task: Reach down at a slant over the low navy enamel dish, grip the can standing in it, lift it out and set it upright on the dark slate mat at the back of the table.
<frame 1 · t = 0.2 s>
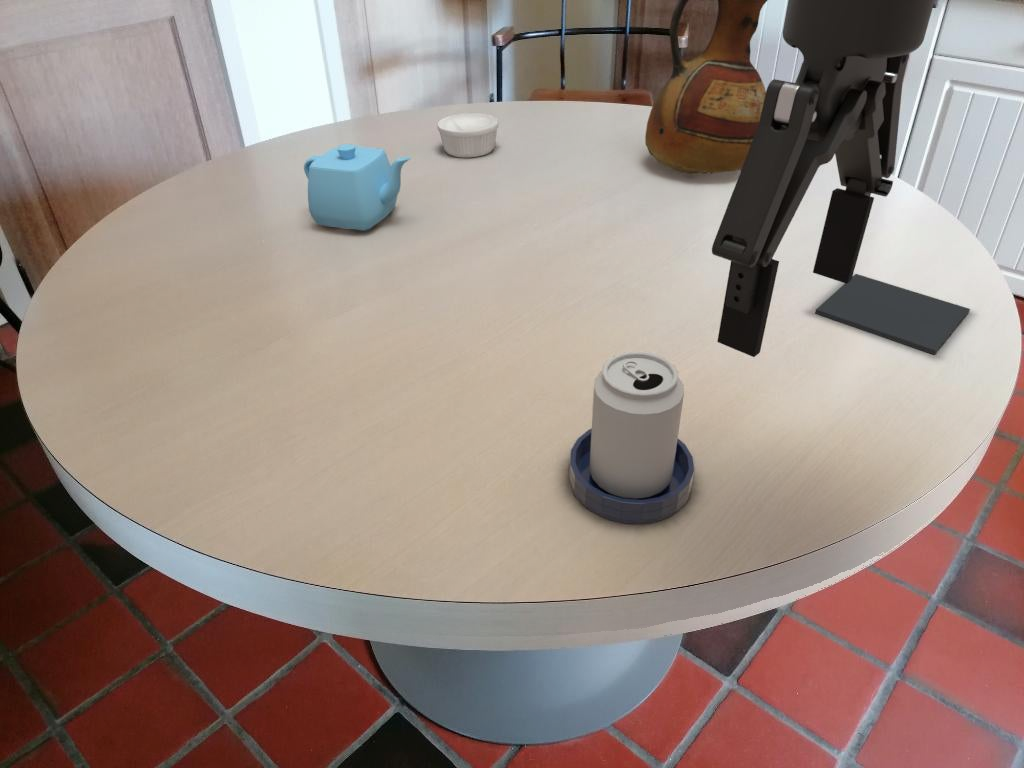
hand: (788, 309, 53), 21 cm above the table, tool pointing down, fingers open, 13 cm apart
ceramic pitcher: (700, 166, 133), on the table
dish: (629, 479, 69), on the table
ramekin: (469, 151, 142), on the table
teapot: (365, 220, 118), on the table
can: (629, 478, 69), resting on dish
mat: (891, 313, 92), on the table
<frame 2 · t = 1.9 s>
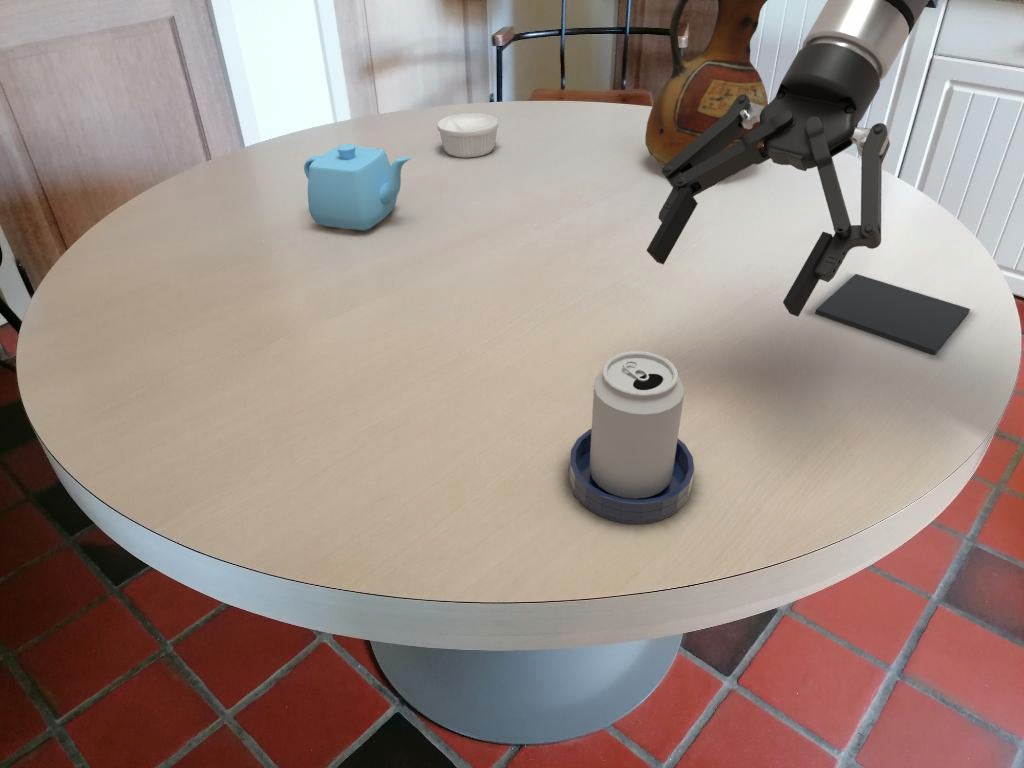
hand: (718, 282, 65), 16 cm above the table, tool tilted 45°, fingers open, 13 cm apart
nothing on the table moved.
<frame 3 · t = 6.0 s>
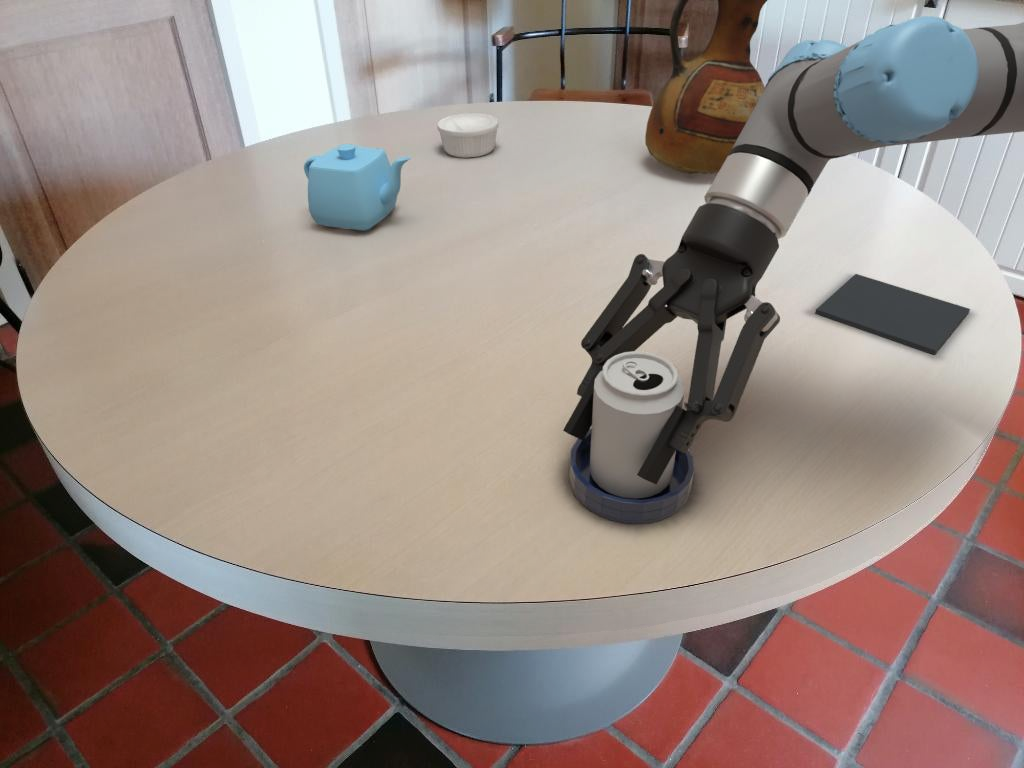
hand: (608, 456, 64), 5 cm above the table, tool tilted 45°, fingers closed on can, 7 cm apart
can: (629, 478, 69), resting on dish, touching gripper
everything else where it was.
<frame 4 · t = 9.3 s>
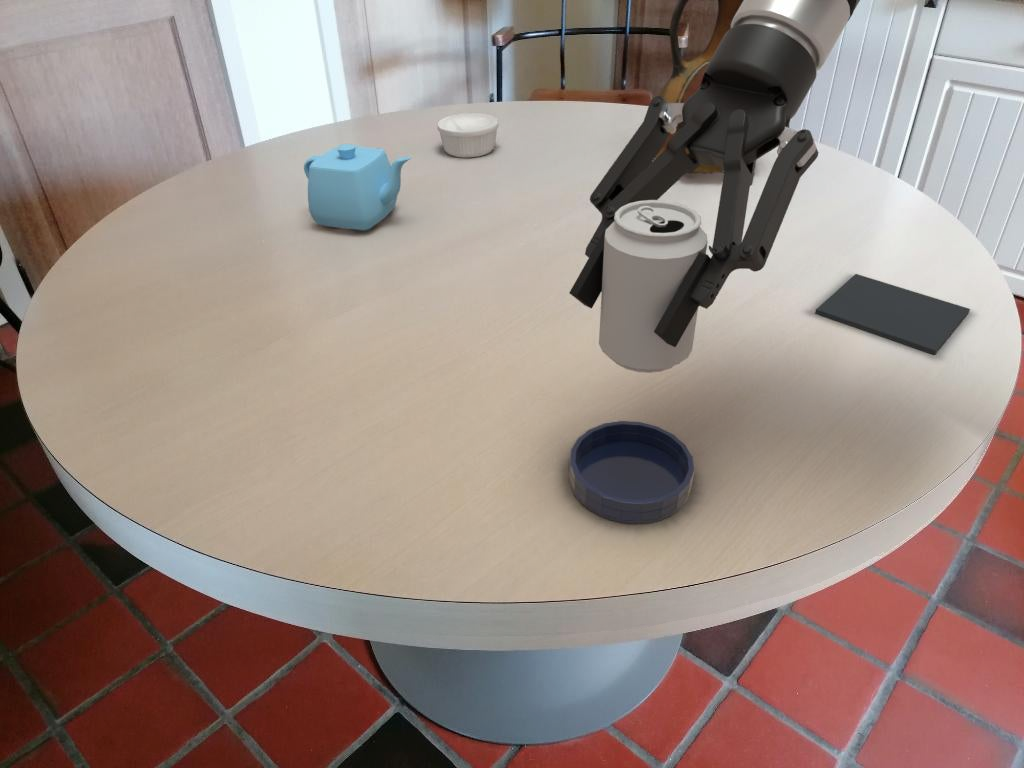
hand: (621, 319, 57), 19 cm above the table, tool tilted 45°, fingers closed on can, 7 cm apart
can: (644, 354, 61), point 14 cm above the table, touching gripper
everything else where it was.
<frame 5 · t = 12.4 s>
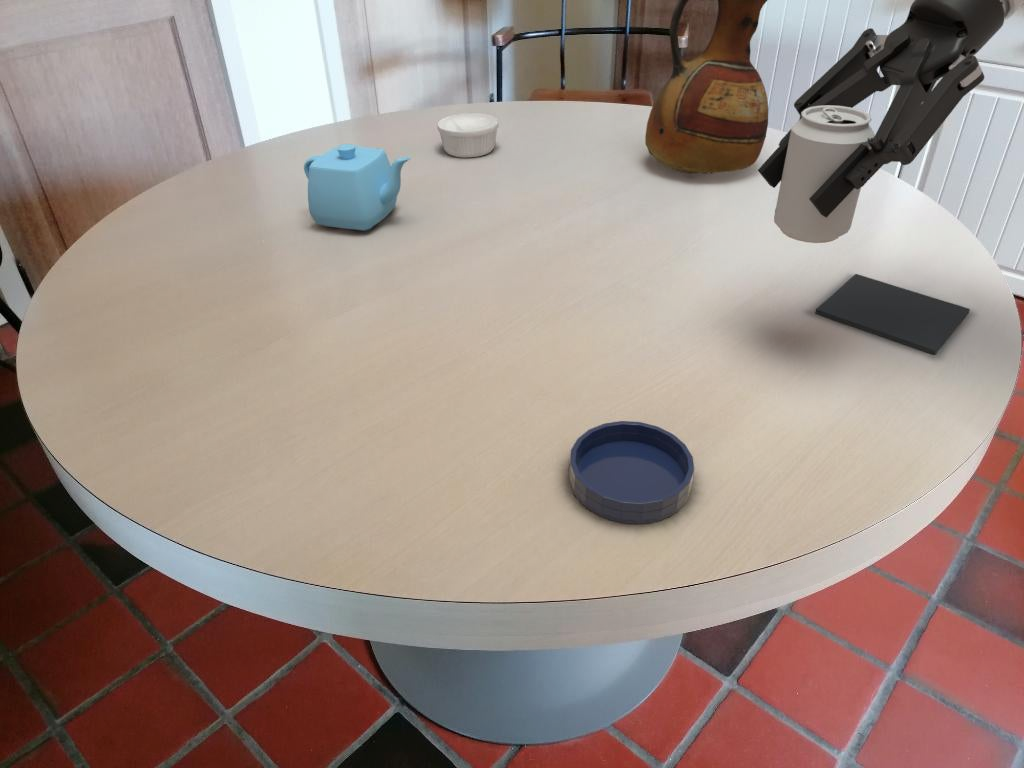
hand: (791, 192, 74), 19 cm above the table, tool tilted 45°, fingers closed on can, 7 cm apart
can: (809, 232, 78), point 14 cm above the table, touching gripper
everything else where it was.
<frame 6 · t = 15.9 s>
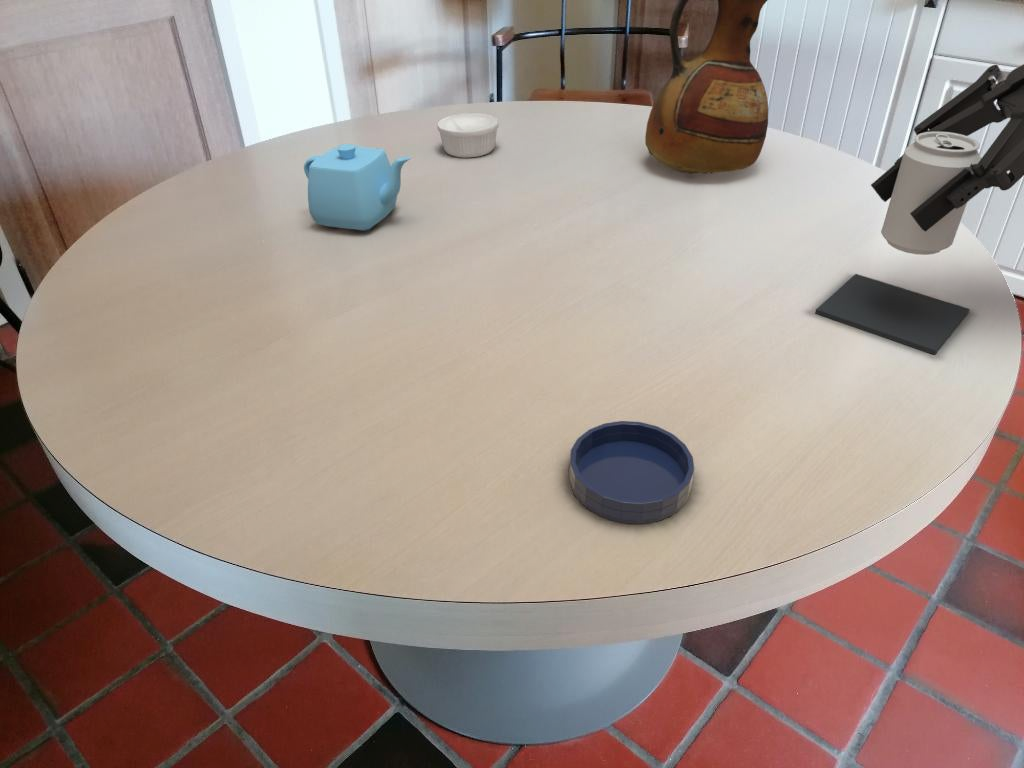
hand: (897, 207, 83), 14 cm above the table, tool tilted 45°, fingers closed on can, 7 cm apart
can: (913, 244, 86), point 9 cm above the table, touching gripper
everything else where it was.
when the fingers open (5 cm above the table, at t = 18.7 s): can stays where it is, resting on mat.
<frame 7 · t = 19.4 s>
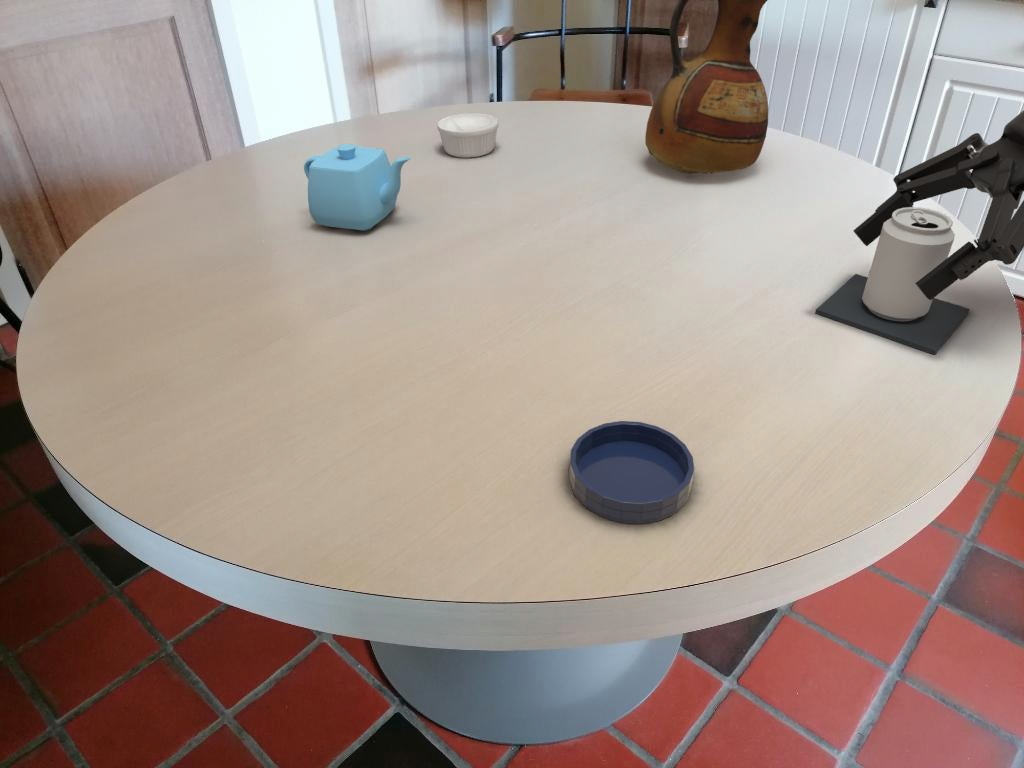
hand: (888, 263, 87), 7 cm above the table, tool tilted 45°, fingers open, 13 cm apart
can: (892, 310, 91), resting on mat
everything else where it was.
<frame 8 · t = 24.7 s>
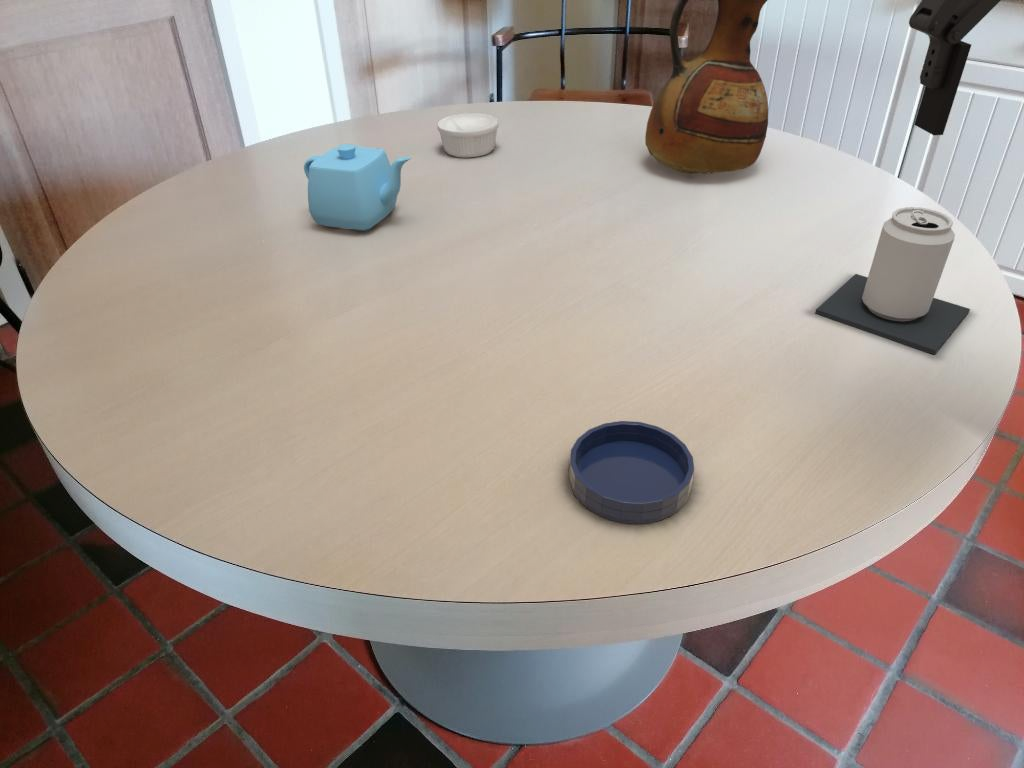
hand: (1008, 124, 60), 29 cm above the table, tool pointing down, fingers open, 13 cm apart
nothing on the table moved.
at the end: can inside the target area on the mat (0.0 cm from its centre), point 0.4 cm above the mat's base; can tilted 0°; the gripper is holding nothing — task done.
